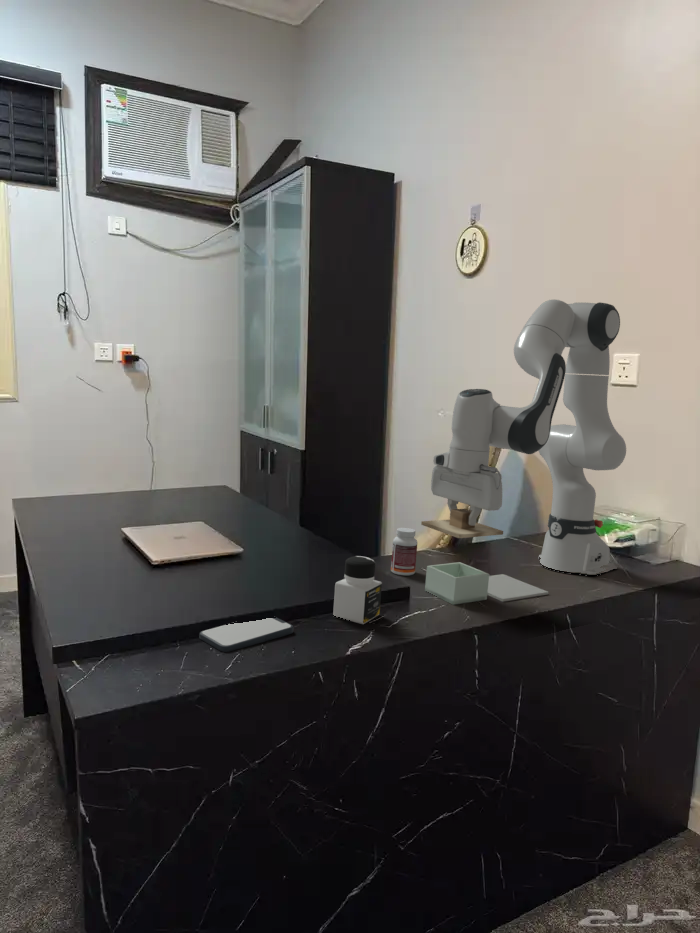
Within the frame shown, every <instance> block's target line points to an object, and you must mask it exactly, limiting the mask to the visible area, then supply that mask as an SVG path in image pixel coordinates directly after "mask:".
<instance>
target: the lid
mask: <svg viewBox="0 0 700 933" xmlns="http://www.w3.org/2000/svg"><path fill="white" fill-rule="evenodd" d="M471 512H472V511H471V510H470V509H466V508H457V509H451V513H450V512H449V519H440V520H439V519H437V520H424V521H423V520H422V521H421V522H420V523H421V526H423V527H427V528H429V529H432V530H435V531H436V532H437V531H438V532H440V533H443V534H446V535H448V536H452V537H453V538H456V539H466V538H477V537H488V536H489V537H491V536H501V535H502V536H503V535H504V530H502V529H499V528H496V527H491V526H489V525H485V524H482V523H479V522H477V521H476V525H474V526H470V525H467V524H466V517H469V516H470V514H471Z"/></svg>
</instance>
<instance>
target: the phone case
mask: <svg viewBox="0 0 700 933" xmlns="http://www.w3.org/2000/svg"><path fill="white" fill-rule="evenodd" d="M233 623H234V622H233ZM227 624H228V625H226V624H223V625H220V626H215V627H212V628H209V629H205V630H202V631H200V632H199V635H198V636H199V637H198V638H199V639H200V640H201V641H203V642H204V643H206V644H208V645H210V646H212V647H213V648H215V649H217V651H220V652H224V653H225V652H227V653H228V652H232V651H237V650H239V649H244V648H247V647H251V646H254V645H258V644H260V643H265V642H269V641H271V640H275V639H278V638H279V639H280V638H282V637H286V636H289V635H292V634H293V633H294V625H292V624H291V623H289V622H288V621H287V622H286V621H285V620H282V619H281V618H279V617H276V618H266V619H262V620H256V621H249V622H243V623H234V624H230V623H227Z"/></svg>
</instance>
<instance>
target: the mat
mask: <svg viewBox="0 0 700 933" xmlns="http://www.w3.org/2000/svg"><path fill="white" fill-rule="evenodd" d="M546 595H549V591H548V590H544V589H543V588H540V587H538V586H535V585H532V584H529V583H527V582H525V581H521V580H520V579H517V578H514V577H511V576H510V575H507V574H503V573H501V574H495V575H489V582H488V592H487V596H489V597H491V598H493V599H496V600H498V601H500V602H504V603H505V602H509V601H515V600H521V599H529V598H534V597H541V596H546Z"/></svg>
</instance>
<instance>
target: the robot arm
mask: <svg viewBox="0 0 700 933" xmlns="http://www.w3.org/2000/svg"><path fill="white" fill-rule="evenodd" d="M620 317H621V316H620V313H619V311H618V310H617V308H616V306H614V304H610V303H606V302H601V301H600V302H597V303H595V302H574V303H566V302H565V301H563V300H560V299H549V300H546V301H544V302H542V303H541V304H540V305H539V306H538V307H537V308H536V309H535V311H534V312H533V313H532V314H531V316H530V317H529V318H528V320H527V321H526V322H525V324H524V325H523V327H522V329H521V330H520V333H519V334H518V336H517V338H516V340H515V342H514V345H513V356H514V360H515V361H516V364H518V366H519V368H521V369H522V370H523V371H524V372H525V373H526V374H528V375H529V376H531V377H534V378H536V379H538V383H537V385H536V388H535V392H534V395H533V397H532V401H531V403H529V404H528V405H526V406H523V407H516V406H508V405H507V406H506V405H501V404H500V403H498V402H497V401H496V400H495V399H494V397H493V393H492V391H491V390H488V389H485V388H470V389H469V388H468V389H464V390H462V391H460V392H458V394H457V396H456V399H455V402H454V406H453V413H452V420H451V432H452V433H451V434H452V438H451V442H450V444H449V450H448V451H447V452H442V453H439V454H435V455H434V456H433V462H432V463H433V464H434V466H433V469H432V474H431V482H430V483H431V484H430V490H431V494H432V495H433V496H436V497H440V498H443V499H447V503H446V504H447V506H448V510H449V514H450V513H451V509H458V505H459V503H461V504H464V505H468V506H470V507H469V510H470V511H472V512H471V514H470V516H469V517H466V524H467V525H470V526H474V525H476V522H477V518H478V516H479V515H480V514H481V512H482V510H484V511H490V512H491V511H493V512H494V511H499V510H500V509H501V507H502V505H503V482H502V478H503V477H502V474H501V472H500V471H499V470H498V468H497V467H495V466H490V465H489V463H490V462H489V461H490V460H489V459H490V452H491V451H490V448H491V447H495V448H498V449H504V450H511V451H515V452H518V453H522V454H526V455H532V454H535V453H536V452H538V453H539V455H540V456H541V458H543V460H544V462H545V463H546V466H547V467H548V469H549V473H550V476H551V480H552V481H551V483H552V496H551V497H552V500H551V508H550V509H551V510H550V514H549V515H548V519H547V527H548V530H547V531H546V532H545V535H544V541H543V546H542V549H541V553H540V554H539V555H538V558H539V557H540V558H541V559H540V560H539V561H540V563H541V564H542V565H544V566H546V567H548V568H552V569H555V570H560V571H567V572H581V573H587V574H596V573H599V572H601V571H604V570H606V569H605V568H604V569H603V568H600V567H601V566H603V565H606V564H608V563H609V561H610V556H611V554H610V553H611V552H610V551H611V550H610V547H609V545H608V544H607V543H606V542H605V541H604V540H603V539H602V538H601V537H600V535H598V534H597V528H600V529H601V528H602V527H603V526H604V522H603V520H599V519H594V514H595V505H596V497H597V493H596V490H595V487H594V486H593V485H592V484H591V483H589V481H588V480H587V478H586V476H585V473H584V469H586V470H592V471H612V470H613V471H614V470H616V469H617V468H618V467H620V466H621V465H622V464H623V462H624V460H625V458H626V454H627V444H626V442H625V440H624V437H623V436H622V435H621V434H620V433H619V432H618V431H617V429H616V428H615V427H614V425H613V423H612V420H611V418H610V413H609V408H608V391H609V390H608V389H609V379H610V378H609V375H610V365H611V364H610V362H611V360H610V345H611V344H612V343H613V342H614V341H615V339H616V338H617V337H618V335H619V331H620V327H621V318H620ZM565 348H569V349H568V350H569V351H568V353H567V358H566V359H567V360H566V361H565V358H564V357H563V356H562V354H563V351H564V350H565ZM562 388H563V392H562V393H563V394H562V401H563V405H564V406H565V408H567V409H568V410H569V411H570V412H571V413H572V416H573V417H574V420H575V425H571V424H555V425H552V420H553V416H554V412H555V410H556V407H557V404H558V401H559V398H560V394H561V391H562ZM542 565H541V566H542ZM546 567H545V568H546ZM548 568H547V569H548ZM555 570H554V571H555Z"/></svg>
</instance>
